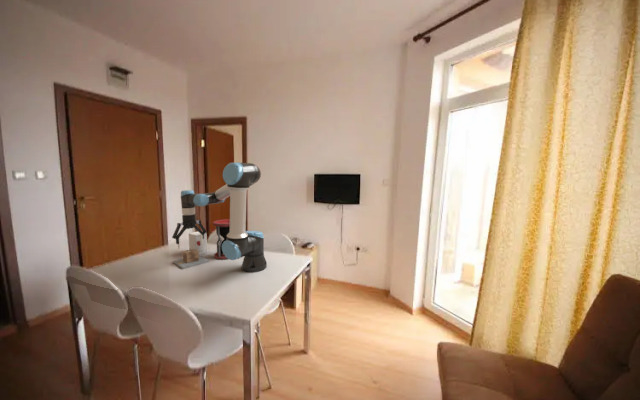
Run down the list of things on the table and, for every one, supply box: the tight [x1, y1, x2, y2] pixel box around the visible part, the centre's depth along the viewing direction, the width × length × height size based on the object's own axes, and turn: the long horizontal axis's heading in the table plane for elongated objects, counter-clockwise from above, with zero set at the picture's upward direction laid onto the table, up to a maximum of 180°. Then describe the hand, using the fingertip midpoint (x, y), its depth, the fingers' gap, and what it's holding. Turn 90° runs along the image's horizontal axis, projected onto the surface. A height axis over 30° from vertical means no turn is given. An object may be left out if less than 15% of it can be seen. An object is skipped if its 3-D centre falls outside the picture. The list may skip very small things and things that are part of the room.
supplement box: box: [188, 231, 208, 255], centre depth 178 cm, size 9×9×15 cm
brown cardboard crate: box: [182, 249, 200, 263], centre depth 159 cm, size 7×7×6 cm
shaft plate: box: [173, 254, 210, 270], centre depth 159 cm, size 16×16×5 cm
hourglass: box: [212, 218, 230, 260], centre depth 171 cm, size 16×16×25 cm
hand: (190, 246), depth 158 cm, fingers open, 13 cm apart
